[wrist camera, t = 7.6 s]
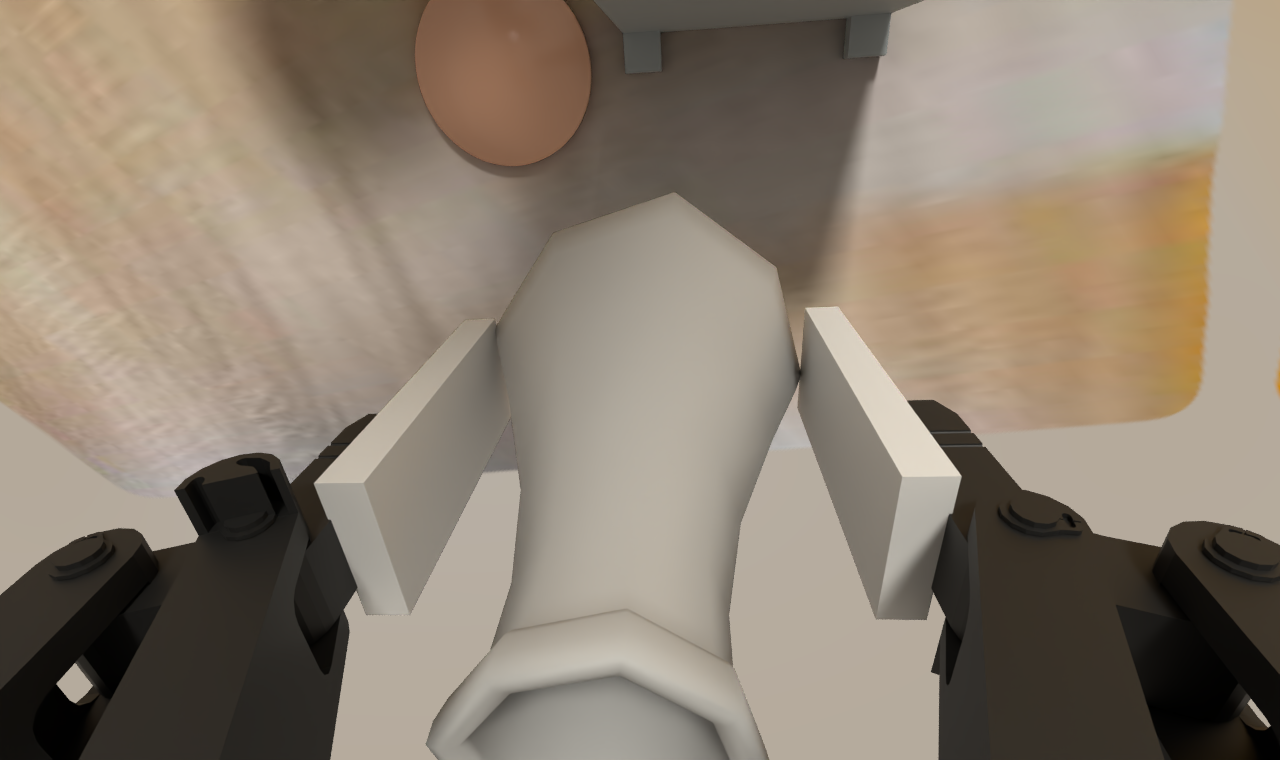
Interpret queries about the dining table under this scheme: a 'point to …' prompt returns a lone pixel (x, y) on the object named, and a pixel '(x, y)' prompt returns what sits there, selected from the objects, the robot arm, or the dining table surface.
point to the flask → (629, 493)
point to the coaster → (504, 75)
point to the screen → (744, 22)
